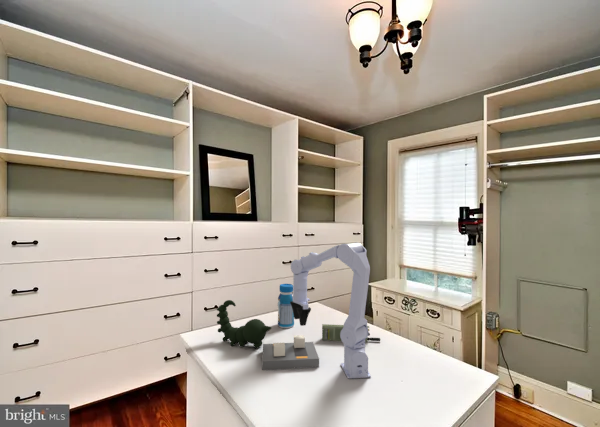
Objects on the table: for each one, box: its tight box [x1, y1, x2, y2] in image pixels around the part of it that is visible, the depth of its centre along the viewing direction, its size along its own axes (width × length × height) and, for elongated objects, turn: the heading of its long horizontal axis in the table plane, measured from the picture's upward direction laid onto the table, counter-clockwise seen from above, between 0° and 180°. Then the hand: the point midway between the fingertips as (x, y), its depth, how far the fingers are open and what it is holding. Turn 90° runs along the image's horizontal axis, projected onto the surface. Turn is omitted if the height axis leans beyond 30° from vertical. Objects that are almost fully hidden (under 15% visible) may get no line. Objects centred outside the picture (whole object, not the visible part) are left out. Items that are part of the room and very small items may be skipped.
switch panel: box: [261, 341, 320, 371], centre depth 106 cm, size 14×20×3 cm
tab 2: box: [293, 334, 306, 348], centre depth 110 cm, size 3×4×4 cm
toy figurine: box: [216, 299, 272, 349], centre depth 118 cm, size 9×19×25 cm
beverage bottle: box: [277, 283, 295, 329], centre depth 140 cm, size 8×8×20 cm
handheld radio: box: [321, 323, 381, 343], centre depth 123 cm, size 7×3×25 cm
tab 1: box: [273, 342, 286, 356], centre depth 103 cm, size 3×4×4 cm
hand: (299, 321), depth 116 cm, fingers open, 7 cm apart
